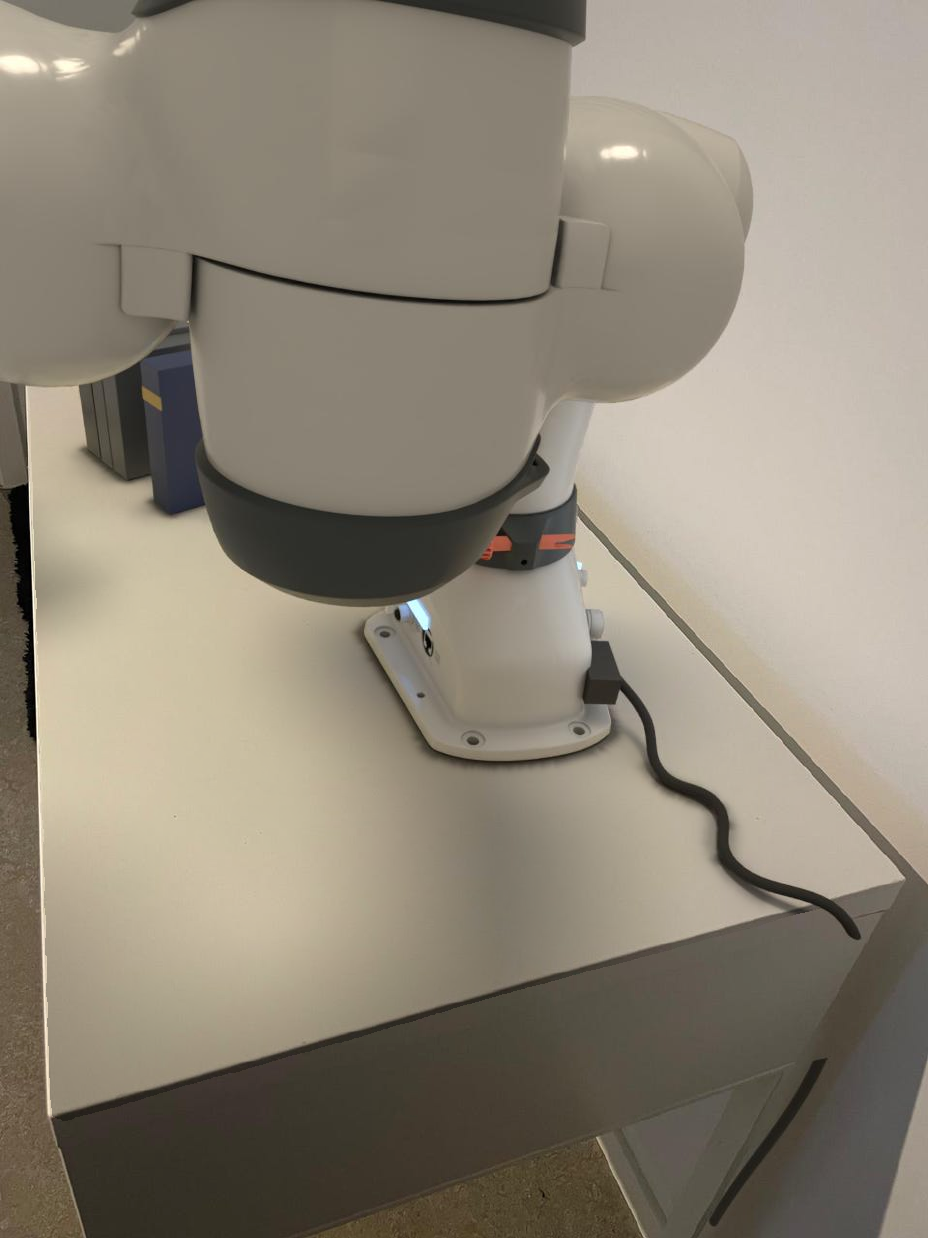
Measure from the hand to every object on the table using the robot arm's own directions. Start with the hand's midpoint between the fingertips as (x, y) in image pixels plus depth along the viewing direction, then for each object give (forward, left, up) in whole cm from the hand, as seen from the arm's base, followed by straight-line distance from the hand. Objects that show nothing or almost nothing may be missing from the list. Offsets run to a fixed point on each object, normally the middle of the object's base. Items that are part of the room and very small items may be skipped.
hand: (66, 308), depth 70 cm
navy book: (+6, -10, -20) cm, 23 cm away
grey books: (+15, -4, -20) cm, 25 cm away
